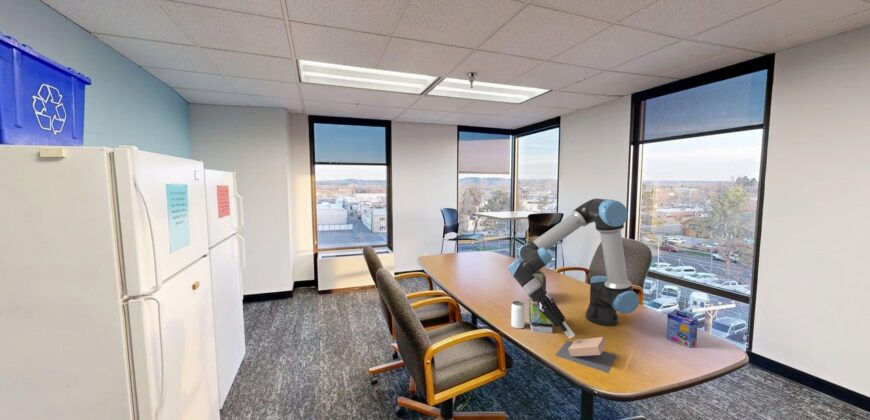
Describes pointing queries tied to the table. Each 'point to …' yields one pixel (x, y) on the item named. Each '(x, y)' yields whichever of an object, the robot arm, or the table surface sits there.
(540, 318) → the tea box
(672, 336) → the ink cartridge box
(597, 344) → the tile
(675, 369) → the table surface
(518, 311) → the can
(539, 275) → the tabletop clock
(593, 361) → the mat
